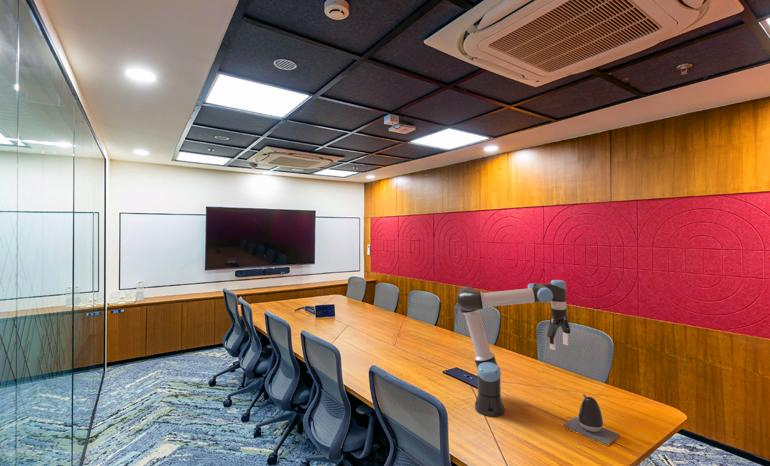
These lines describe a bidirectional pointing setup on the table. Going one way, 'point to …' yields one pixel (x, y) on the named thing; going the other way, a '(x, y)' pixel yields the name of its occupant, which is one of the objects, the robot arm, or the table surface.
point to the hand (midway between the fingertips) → (559, 347)
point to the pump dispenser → (590, 415)
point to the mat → (601, 436)
